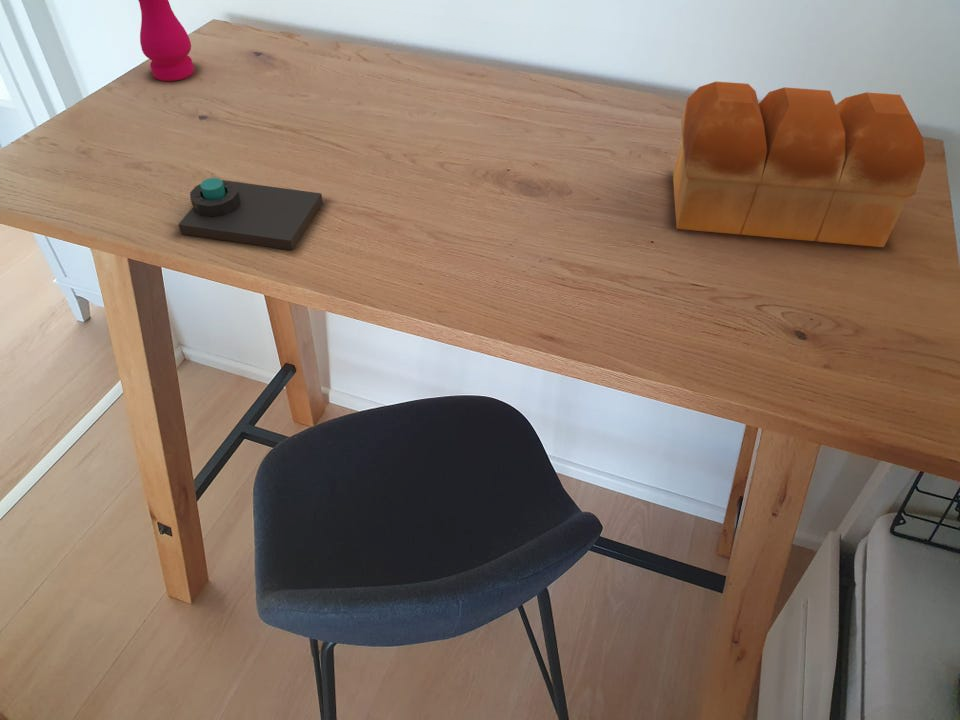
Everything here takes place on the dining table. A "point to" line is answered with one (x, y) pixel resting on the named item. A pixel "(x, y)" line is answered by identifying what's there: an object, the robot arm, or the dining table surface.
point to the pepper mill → (164, 41)
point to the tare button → (212, 188)
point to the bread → (795, 164)
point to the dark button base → (252, 215)
